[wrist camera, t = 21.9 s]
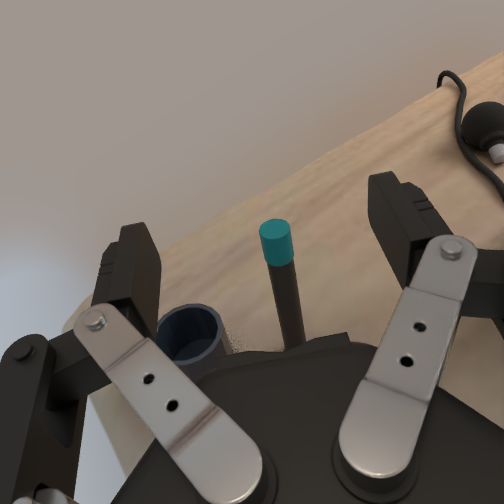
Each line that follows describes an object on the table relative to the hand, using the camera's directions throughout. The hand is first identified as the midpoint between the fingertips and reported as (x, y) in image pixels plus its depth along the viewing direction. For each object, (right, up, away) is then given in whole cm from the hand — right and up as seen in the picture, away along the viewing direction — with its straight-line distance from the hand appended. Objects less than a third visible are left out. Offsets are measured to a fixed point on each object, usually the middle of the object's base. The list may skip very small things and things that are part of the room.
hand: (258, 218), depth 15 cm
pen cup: (-5, -13, +29) cm, 32 cm away
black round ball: (+35, +14, +48) cm, 61 cm away
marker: (+4, -11, +28) cm, 31 cm away
